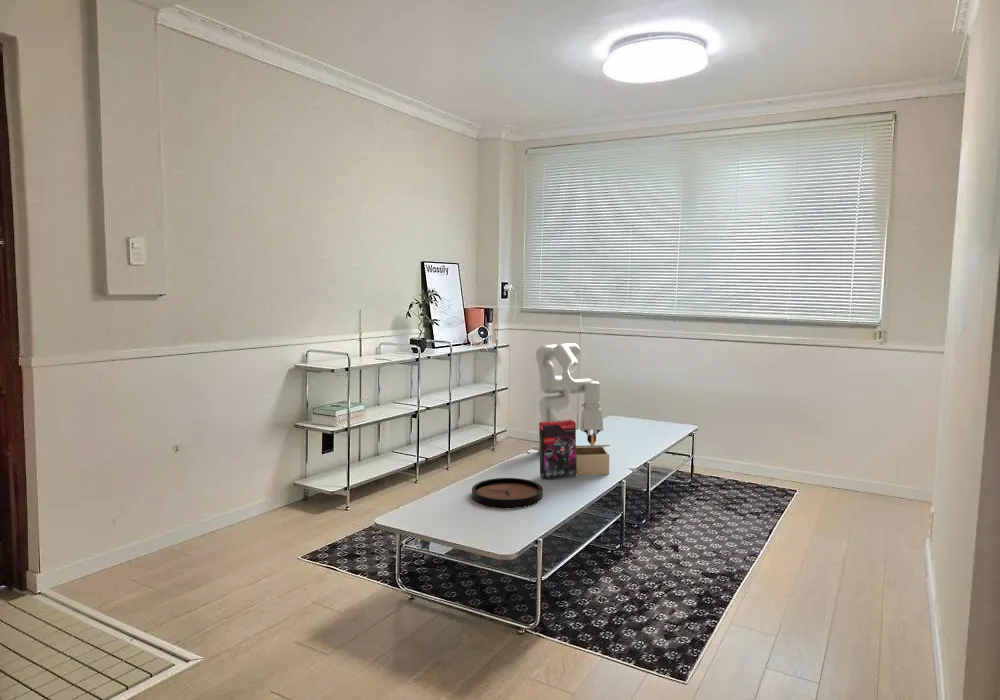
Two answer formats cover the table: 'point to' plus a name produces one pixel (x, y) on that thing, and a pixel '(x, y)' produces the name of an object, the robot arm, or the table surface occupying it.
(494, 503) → the wall clock
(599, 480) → the table surface
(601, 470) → the carton
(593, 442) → the flap
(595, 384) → the robot arm
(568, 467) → the graphics card box
